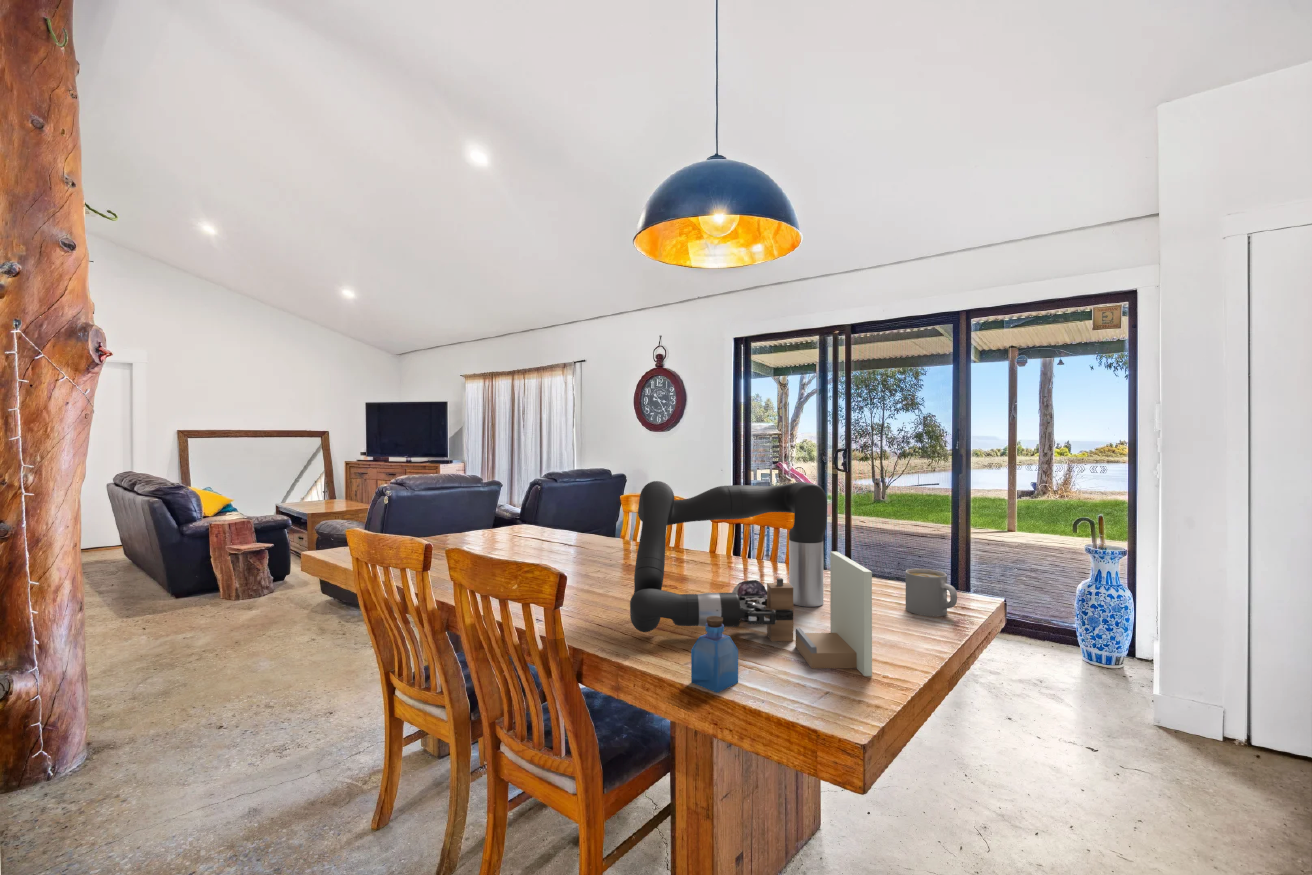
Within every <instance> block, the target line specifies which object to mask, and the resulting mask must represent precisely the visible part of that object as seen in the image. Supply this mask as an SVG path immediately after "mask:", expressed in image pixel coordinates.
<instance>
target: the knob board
mask: <svg viewBox="0 0 1312 875" xmlns="http://www.w3.org/2000/svg"><path fill="white" fill-rule="evenodd" d="M766 591H767V607H768V608H770V609H775V610H776V609H791V610H792V611H793V612H794V604H793V587H792V586H791V585H790V584H789V582H784V578H782V577H776V582H766ZM767 616H768V617H770V615H767ZM766 635H767V637H768V639H769V640H770V641H771V642H794V619H793V620H776V622H775V624H774V625H772V624H766Z"/></svg>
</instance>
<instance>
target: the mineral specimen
mask: <svg viewBox="0 0 1312 875" xmlns="http://www.w3.org/2000/svg"><path fill="white" fill-rule="evenodd" d="M731 593H737V594H738V596H760V595H761V596H763V598H764V597H765V598H767V588H766V587H765V586H764V584H763V583H762V582H761V581H759V580H758V579H755V580H754V579H753V580H744V581H741V582H738V583H737V585H736V586H734V588H733V590H732V592H731ZM741 620H742V621H743V622H744V621H746V622H747V621H748V619H743V618H742V619H741Z"/></svg>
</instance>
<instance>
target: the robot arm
mask: <svg viewBox="0 0 1312 875" xmlns="http://www.w3.org/2000/svg"><path fill="white" fill-rule="evenodd" d="M638 500H639V501H638V507H637V508H638V509H637V516H638V518H639V520H640V521H641V522H642V524H641V531H640V538H639V542H638V547H637V552H636V560H635V568H634V575H633V579H634V580H633V582H634V591H633V595H632V596H631V597H630V601H629V615H630V616H629V617H630V618H629V619H630V621H631V624H632V626H633V627H634V628H635V629H636V630H637V631H639V632H642V633H649V632H652V631H653V630H655V629H656V628H657V627H658V625H659V624H660V621H661V618H663V619H668V620H672V623H673V624H674V625H675V626H678V627H703V628H704V627H705V625H706V624H707V619H706V618H707V617H709V616H719V617H722V618H723V622H722V624H723V625H724V628H738V627H739V626H740V623H741V620H742V618H743V619H748V620H747V624H748V625H767V624H772V625H774V624H775V622H776V620H793V621H794V610H793V611H792V610H791V609H776V610H775V609H770V608H768V607H767V598H765V597H764V598H763V596H761V595H760V596H738V594H737V593H732V592H704V593H703V592H702V593H683V594H679V593H676V592H671V591H668V590H663V589H662V588H663V582H664V575H665V566H666V565H665V564H666V563H665V562H666V544H667V543H666V540H667V538H666V537H667V527H668V526H671V525H677V524H684V523H691V522H703V521H704V522H706V521H720V520H721V521H723V520H724V521H725V520H727V521H728V520H742V519H748V518H752V517H756V516H760V515H763V514H768V513H788V514H789V513H791V514H794V517H793V518H794V520H793V521H794V522H793V527H792V528H790V530H789V531H788V532H789V533H788V537H789V538H788V557H789V558H788V560H789V563H788V565H789V567H788V575H789V576H788V579H789V580H788V583H789V584H790V585H791V586H792V587H793V605H795V606H799V607H820V606H823V605H824V535H825V533H826V530H827V519H828V517H827V516H828V515H827V514H828V499H827V494H826V492H825V490H824V488H822V487H821V486H820V485H818V484H816V483H813V482H805V481H798V482H792V483H791V482H790V483H784V484H779V485H770V486H768V485H767V486H761V485H754V484H753V485H750V484H749V485H748V484H747V485H746V484H743V485H742V484H739V485H738V484H736V485H733V484H732V485H720V486H715V487H713V488H710V489H709V490H706V491H704V492H701V493H699V494H698V495H694V496H692V497H689V498H684V499H675V494H674V491H673V488H672V487H671V486H670V485H669V484H667V483H666V482H664V481H658V480H654V481H650V482H648V483H646V484H645V485H644V486H643V488H642V489H641V491H640V493H639V498H638ZM767 615H770V617H768V616H767Z"/></svg>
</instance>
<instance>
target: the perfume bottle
mask: <svg viewBox="0 0 1312 875" xmlns="http://www.w3.org/2000/svg"><path fill="white" fill-rule="evenodd" d="M706 619H707V624H706V625H705V631H706V633H705V634H702V635H700V636H699V637H698V638H697V639H696V641H695V643H694V645H693V646H692V648H691V651H690V653H691V655H690V656H691V657H690V660H691V662H690V664H691V665H690V666H691V670H690V671H691V672H690V674H691V676H690V677H691V678H690V681H691V684H694V685H697V686H699V687H701V688H704V689H707V690H709V691H712V692H713V693H716V694H717V693H720V692H722V691H724V690H726V689H729V688H730V687H733V686H734V685H736V684H738V683H739V648H738V647H737V646H736V643H735V642H734V641H733V640H732V638H731V636H729V635H728V634H727V635H726V634H723V633H724V632H725V627H724V625H723V624H722V622H723V618H722V617H719V616H709V617H707V618H706Z"/></svg>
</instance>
